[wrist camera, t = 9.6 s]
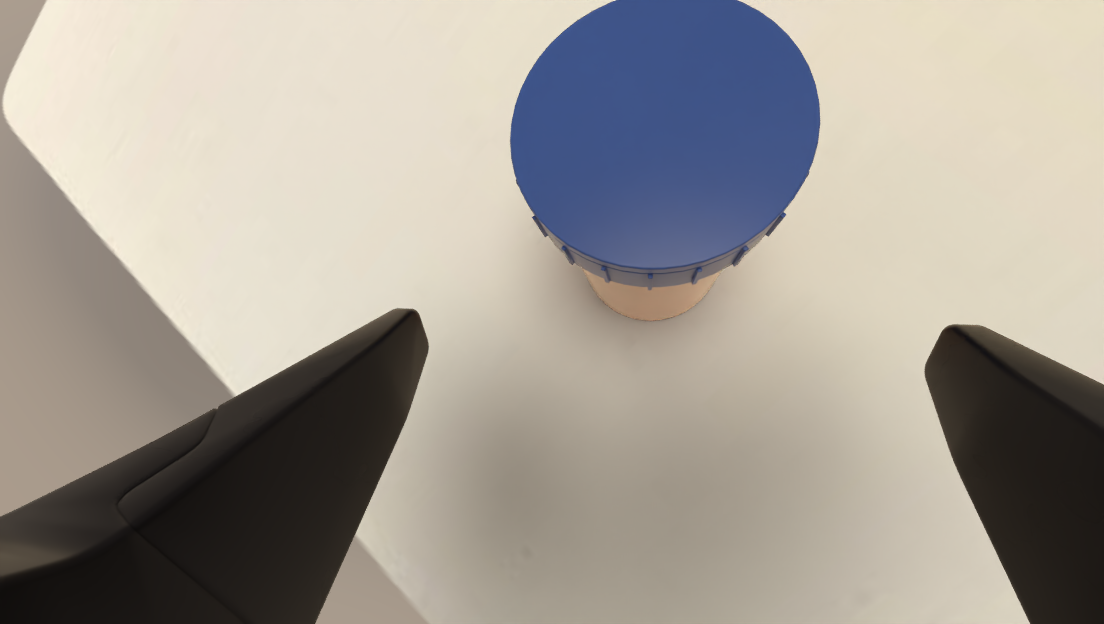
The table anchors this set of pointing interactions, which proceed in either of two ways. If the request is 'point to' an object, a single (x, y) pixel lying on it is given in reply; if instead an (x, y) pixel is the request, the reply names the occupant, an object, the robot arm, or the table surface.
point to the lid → (664, 137)
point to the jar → (650, 297)
